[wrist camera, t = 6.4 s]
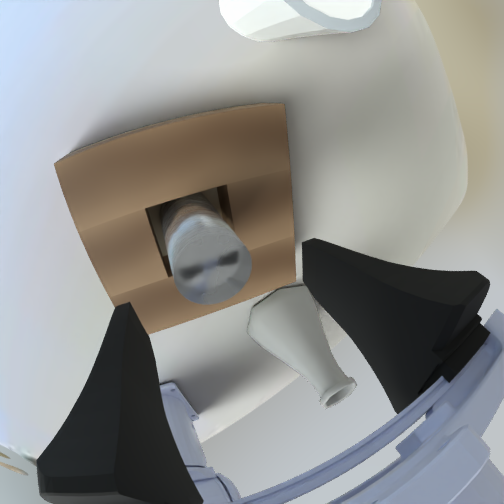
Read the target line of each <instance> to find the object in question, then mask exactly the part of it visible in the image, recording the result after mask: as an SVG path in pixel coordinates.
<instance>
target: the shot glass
mask: <svg viewBox="0 0 504 504" xmlns="http://www.w3.org/2000/svg"><path fill="white" fill-rule="evenodd" d="M381 1H382V0H219V6H220V12H221V15H222V16H223V18H224V19H225V21H226V22H227V24H228V25H229V27H231V28H232V29H234V30H235V31H236V32H238V33H239V34H241V35H242V36H243V37H246V38H250V39H253V40H256V41H259V42H275V41H281V40H287V39H293V38H300V37H307V36H315V35H325V34H337V33H352V32H355V31H358V30H362V29H365V28H368V27H370V25H371V24H372V23H373V22H374V21H375V19H376V18H377V17H378V16H379V13H380V7H381Z"/></svg>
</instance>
